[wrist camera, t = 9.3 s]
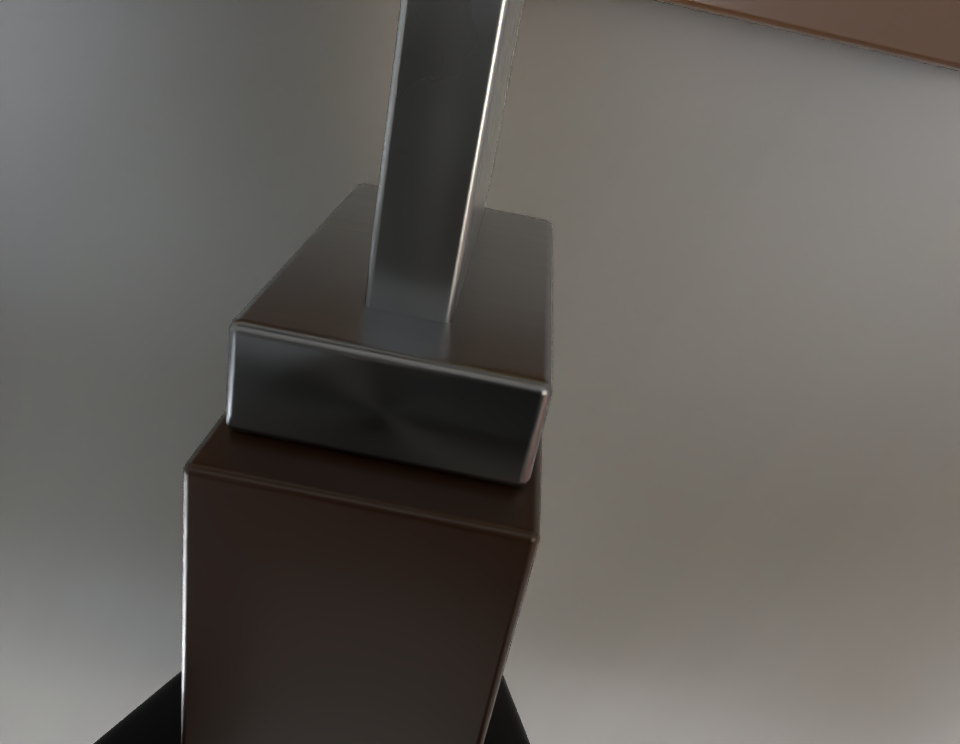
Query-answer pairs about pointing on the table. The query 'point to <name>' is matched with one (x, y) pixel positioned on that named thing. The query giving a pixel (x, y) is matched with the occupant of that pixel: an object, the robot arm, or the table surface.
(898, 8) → the butter board
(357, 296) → the knife
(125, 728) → the robot arm
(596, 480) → the table surface
